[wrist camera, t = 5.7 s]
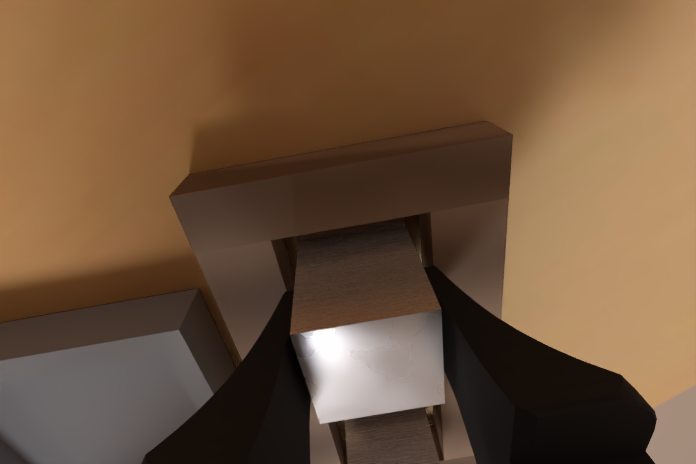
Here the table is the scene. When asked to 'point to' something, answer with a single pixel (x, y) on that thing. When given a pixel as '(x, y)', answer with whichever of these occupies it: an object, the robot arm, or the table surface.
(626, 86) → the table surface
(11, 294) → the table surface
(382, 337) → the block
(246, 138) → the table surface
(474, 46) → the table surface
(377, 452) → the block
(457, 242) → the wooden board with recesses
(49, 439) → the tray
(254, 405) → the robot arm
